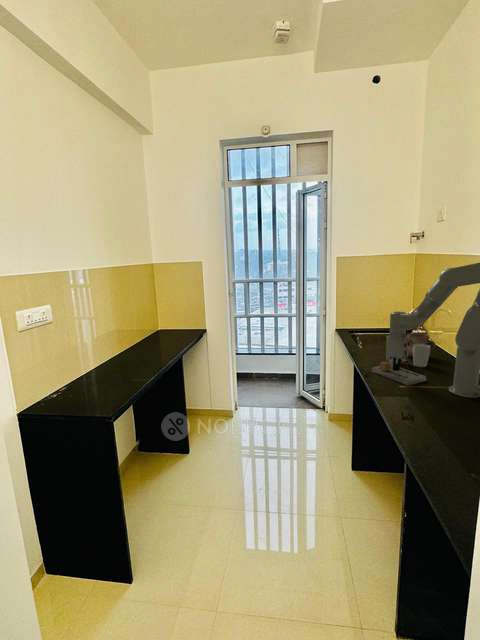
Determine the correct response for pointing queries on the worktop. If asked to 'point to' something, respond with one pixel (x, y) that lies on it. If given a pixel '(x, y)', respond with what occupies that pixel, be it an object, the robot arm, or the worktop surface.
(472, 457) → the worktop surface
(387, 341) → the skincare box
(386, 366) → the fader orange
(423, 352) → the cup
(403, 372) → the console
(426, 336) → the ceramic jug
